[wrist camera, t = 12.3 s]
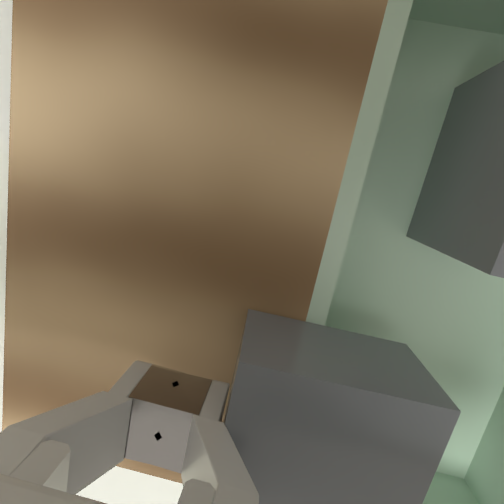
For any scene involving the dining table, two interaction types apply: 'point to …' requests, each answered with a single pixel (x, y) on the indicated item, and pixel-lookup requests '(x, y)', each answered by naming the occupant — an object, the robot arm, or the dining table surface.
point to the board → (168, 181)
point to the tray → (413, 252)
